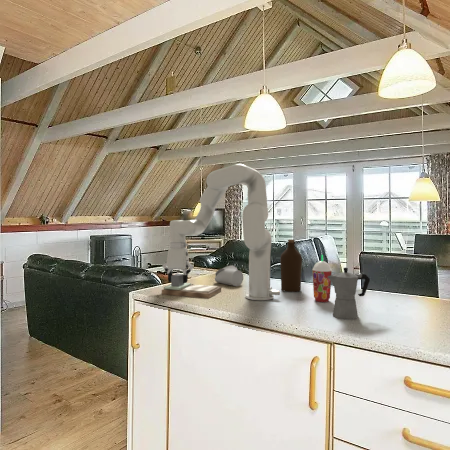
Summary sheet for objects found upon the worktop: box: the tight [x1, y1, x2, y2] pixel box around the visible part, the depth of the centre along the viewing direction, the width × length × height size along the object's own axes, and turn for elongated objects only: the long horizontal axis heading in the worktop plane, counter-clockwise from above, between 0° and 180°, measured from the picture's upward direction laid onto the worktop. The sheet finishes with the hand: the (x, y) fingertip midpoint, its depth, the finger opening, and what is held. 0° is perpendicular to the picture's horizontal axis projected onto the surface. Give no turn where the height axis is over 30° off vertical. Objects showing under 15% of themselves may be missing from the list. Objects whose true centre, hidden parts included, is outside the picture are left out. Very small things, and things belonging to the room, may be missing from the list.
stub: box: [163, 273, 192, 290], centre depth 181 cm, size 8×13×6 cm, turn 161°
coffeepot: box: [327, 267, 371, 320], centre depth 137 cm, size 15×9×18 cm, turn 90°
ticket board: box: [161, 283, 222, 299], centre depth 178 cm, size 24×16×3 cm, turn 71°
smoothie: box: [311, 254, 333, 303], centre depth 162 cm, size 8×8×20 cm
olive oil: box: [279, 239, 303, 293], centre depth 184 cm, size 11×11×25 cm
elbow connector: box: [214, 265, 244, 287], centre depth 205 cm, size 18×11×20 cm
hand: (177, 282), depth 181 cm, fingers open, 7 cm apart
